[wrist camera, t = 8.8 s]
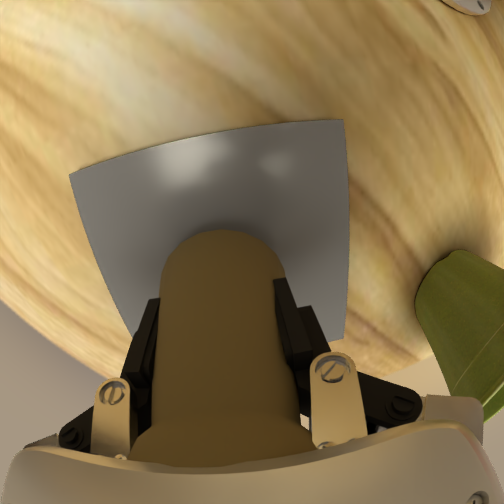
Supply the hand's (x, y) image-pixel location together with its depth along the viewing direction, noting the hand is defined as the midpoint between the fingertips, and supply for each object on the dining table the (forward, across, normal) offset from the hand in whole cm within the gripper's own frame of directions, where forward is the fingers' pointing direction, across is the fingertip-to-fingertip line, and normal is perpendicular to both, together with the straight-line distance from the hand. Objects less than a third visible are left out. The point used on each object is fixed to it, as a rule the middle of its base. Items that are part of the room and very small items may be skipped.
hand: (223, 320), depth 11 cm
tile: (+5, 0, 0) cm, 5 cm away
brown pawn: (+2, 0, 0) cm, 2 cm away
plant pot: (+5, -17, +6) cm, 19 cm away
